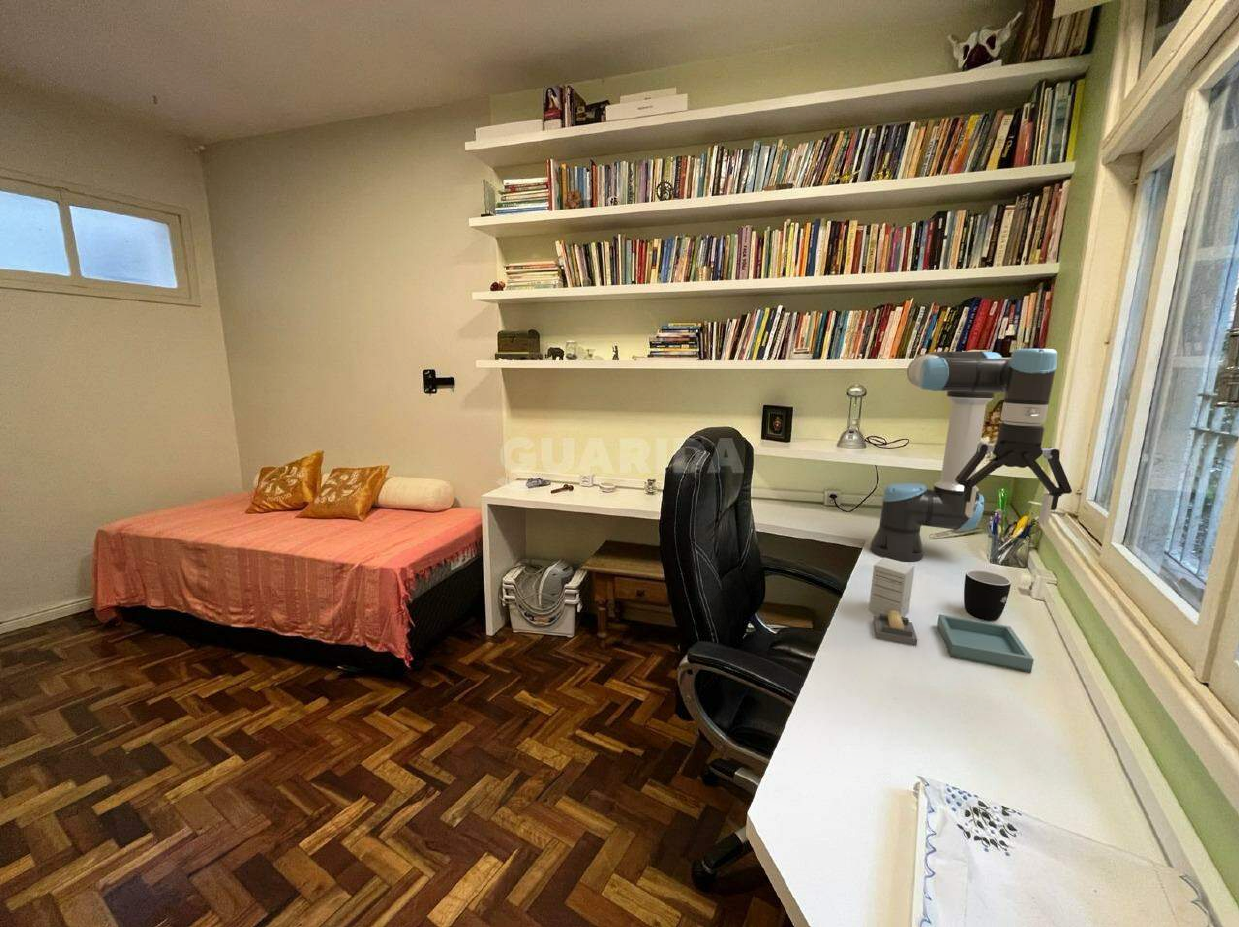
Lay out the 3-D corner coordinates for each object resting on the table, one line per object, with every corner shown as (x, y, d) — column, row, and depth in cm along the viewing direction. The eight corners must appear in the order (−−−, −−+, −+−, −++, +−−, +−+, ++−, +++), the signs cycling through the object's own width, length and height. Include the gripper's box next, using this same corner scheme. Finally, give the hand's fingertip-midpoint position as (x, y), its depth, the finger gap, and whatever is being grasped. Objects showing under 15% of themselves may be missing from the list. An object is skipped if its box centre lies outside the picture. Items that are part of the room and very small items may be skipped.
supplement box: (877, 602, 131) (883, 556, 128) (909, 612, 126) (916, 565, 123) (867, 611, 126) (873, 564, 123) (899, 622, 121) (906, 573, 118)
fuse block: (873, 621, 121) (875, 604, 120) (910, 628, 118) (913, 611, 117) (876, 638, 114) (878, 620, 113) (916, 646, 111) (919, 627, 110)
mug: (1001, 628, 119) (1008, 588, 117) (956, 615, 125) (963, 577, 123) (1007, 610, 128) (1014, 573, 126) (965, 599, 133) (971, 563, 131)
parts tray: (936, 625, 120) (938, 614, 119) (1008, 638, 115) (1010, 626, 114) (950, 657, 107) (952, 644, 106) (1031, 672, 102) (1033, 659, 101)
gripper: (957, 422, 107) (943, 517, 111) (1106, 429, 98) (1084, 532, 103) (949, 418, 114) (935, 508, 118) (1087, 425, 105) (1067, 521, 110)
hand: (1004, 519), depth 111 cm, fingers open, 13 cm apart
